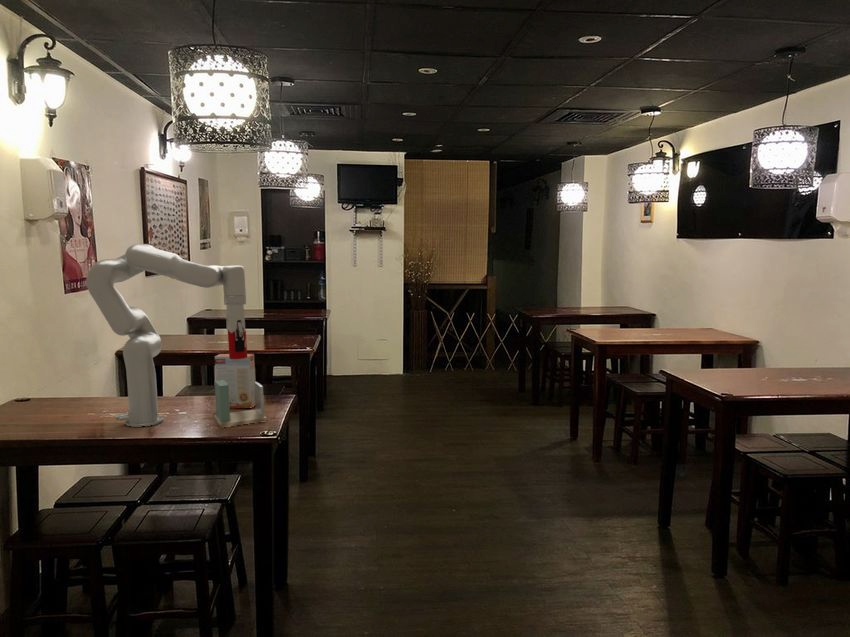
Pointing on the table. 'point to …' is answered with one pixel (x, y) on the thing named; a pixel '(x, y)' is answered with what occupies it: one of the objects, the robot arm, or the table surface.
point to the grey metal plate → (259, 399)
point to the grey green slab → (222, 400)
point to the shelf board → (241, 418)
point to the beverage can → (231, 341)
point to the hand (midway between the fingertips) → (237, 349)
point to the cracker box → (237, 379)
